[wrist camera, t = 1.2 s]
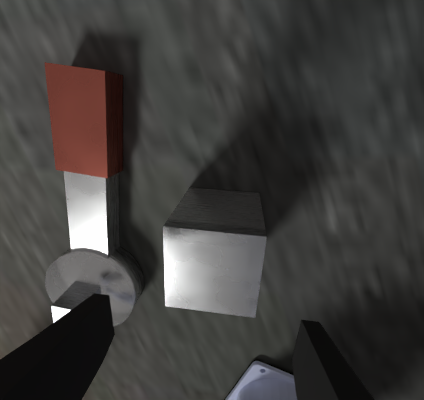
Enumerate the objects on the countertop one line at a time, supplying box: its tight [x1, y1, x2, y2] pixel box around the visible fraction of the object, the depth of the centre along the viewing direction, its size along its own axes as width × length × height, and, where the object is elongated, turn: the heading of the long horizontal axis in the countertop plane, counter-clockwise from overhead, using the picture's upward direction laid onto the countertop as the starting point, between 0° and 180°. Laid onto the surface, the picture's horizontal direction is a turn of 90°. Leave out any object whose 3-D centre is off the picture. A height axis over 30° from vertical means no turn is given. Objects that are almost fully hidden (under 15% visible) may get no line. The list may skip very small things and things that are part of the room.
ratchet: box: [45, 63, 144, 326], centre depth 16 cm, size 19×7×5 cm, turn 173°
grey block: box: [163, 187, 267, 318], centre depth 15 cm, size 5×5×6 cm
